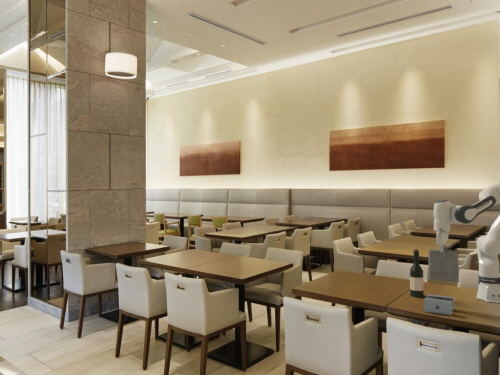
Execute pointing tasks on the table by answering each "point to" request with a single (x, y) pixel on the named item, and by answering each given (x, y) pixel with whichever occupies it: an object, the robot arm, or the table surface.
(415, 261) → the wine bottle
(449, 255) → the grey rectangular slab
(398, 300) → the table surface
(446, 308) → the vise
